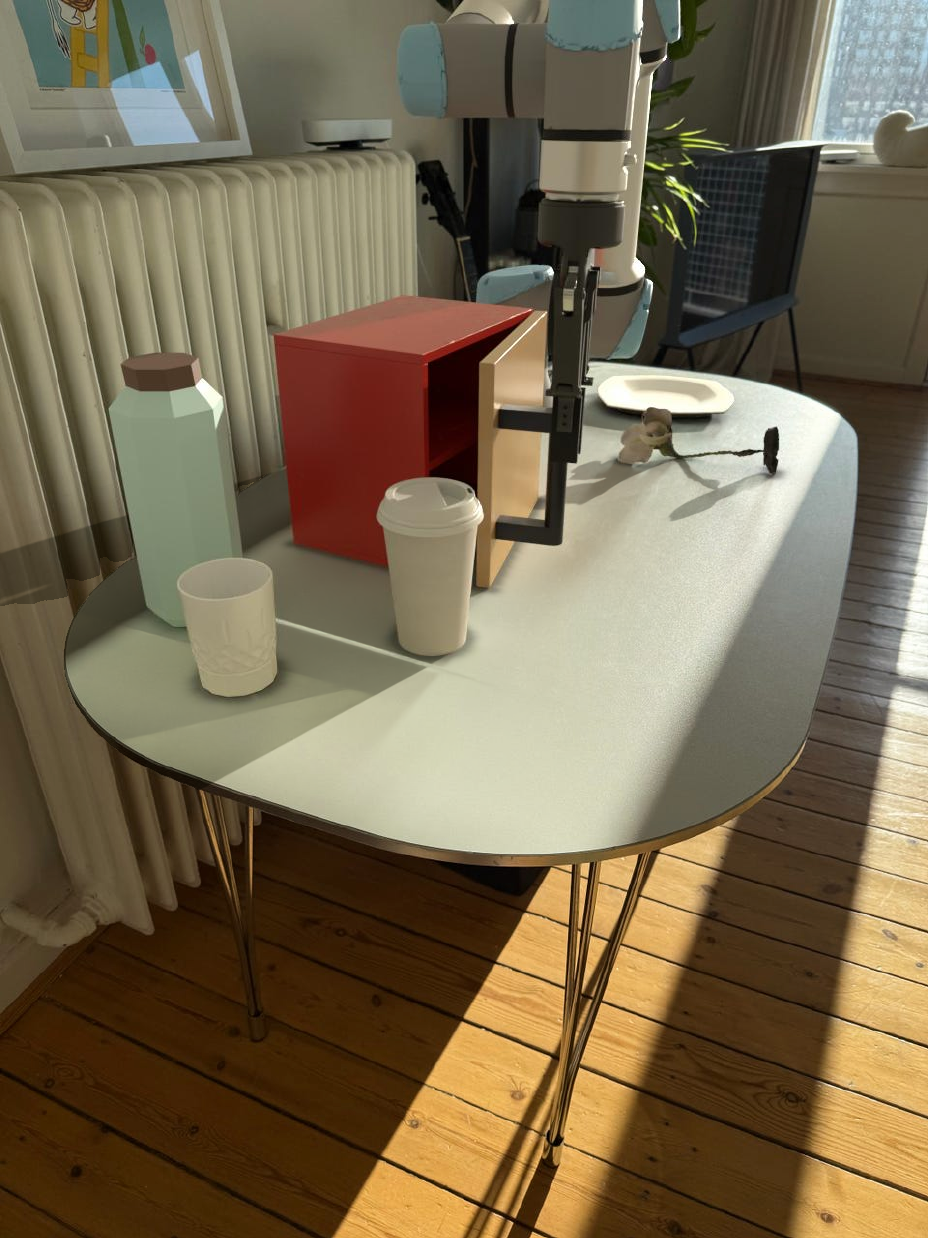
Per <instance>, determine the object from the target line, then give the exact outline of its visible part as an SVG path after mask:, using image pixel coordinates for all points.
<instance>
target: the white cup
mask: <svg viewBox="0 0 928 1238" xmlns="http://www.w3.org/2000/svg"><path fill="white" fill-rule="evenodd" d="M177 587H178V592H179V596H180V600H181V605H182V609H183V614H184V618H185V622H186V626H187V627H186V631H187V634H188V635H187V636H188V639H189V640H188V641H189V644H190V647H191V650H192V655H193V659H194V660H195V662H196V666H197V669H198V673H199V678H200V682H201V686H202V688H203V689H205V690H206V691H208V692H209V693H210V694H212V695H217V696H222V697H227V698H232V697H233V698H234V697H242V696H243V697H244V696H245V697H246V696H248V695H251V694H255V693H257V692H261V691H263V690H264V689H265V688H266V687H268V686H269V685H271V684H272V683H273V682H274V680H275V678H276V676H277V674H278V662H277V651H276V649H277V631H276V629H277V622H276V621H277V620H276V604H275V590H274V589H275V588H274V574H273V571H272V568H270V566H268V564H266V563H264V562H262V561H260V560H256V559H252V558H246V557H245V558H244V557H243V558H223V559H216V560H211V561H207V562H204V563H201V564H198V565H196V566H193V567H191V568H190V569H188V570H186V571H185V572H184V573H183V574H182V575H181V576H180V577H179V579H178V581H177Z"/></svg>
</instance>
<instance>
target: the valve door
mask: <svg viewBox="0 0 928 1238" xmlns="http://www.w3.org/2000/svg"><path fill="white" fill-rule="evenodd" d="M546 326H547V311H534V312H533V313H532V314H531V315H530V316H529V317H528V318H527V319H526V320H525V321H524V322H522V323H521V324H520V325H519V326H518V327H517V328H516V329H515V330H514V331H513V332H512V333H511V334H510V335H509V336H508V337H506V338H505V339H504V340H503V341H502V342H501V343H500V344H499V345H498V346H497V347H496V348H495V349H494V350H493V351H492V352H490V353H489V354H488V355H487V356H486V357H485V358H484V359H483V360H482V361H481V362H480V363H479V419H478V494H477V499H478V501H479V502H480V505H481V507H482V511H483V514H484V517H483V520H482V522H481V523H480V524H479V525H478V527H477V537H476V571H475V573H476V578H475V579H476V581H475V582H476V583H475V586H476V587H478V588H485V589H486V588H487V589H490V588H491V587H492V585H493V582H494V581H495V579H496V577H497V575H498V573H499V571H500V570H501V568H502V566H503V565H504V563H505V560H506V559H507V557H508V556H509V553H510V551H511V549H512V548H513V546H514V544H515V542H517V543H524V544H532V545H533V544H534V545H541V546H550V547H557V546H561V545H562V544H563V540H564V539H563V538H564V525H565V511H566V509H565V508H566V497H567V496H566V495H567V494H566V493H567V482H568V481H567V479H568V464H569V463H563V462H551V461H549V457H550V440H551V423H552V408H550V407H543V388H544V367H545V347H546ZM542 433H543V434H548V447H547V465H546V466H547V467H546V483H545V484H546V486H545V503H544V505H545V506H544V519H540V518H533V517H532V518H531V517H530V515H531V513H532V511H533V509H534V507H535V506H536V504H537V502H538V500H539V490H540V489H539V487H540V467H541V466H540V465H541V447H542Z"/></svg>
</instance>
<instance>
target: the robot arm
mask: <svg viewBox="0 0 928 1238" xmlns="http://www.w3.org/2000/svg"><path fill="white" fill-rule="evenodd" d="M680 37H681V0H462V1H461V3H460V4H459V5H458V7H456V9H454V11H453V13H452V14H451V15H450V16H449V17H448V18H447V20H446V21H445V22H444V23H435V21H429V22H427V23H419V24H411V25H408V26H406V27H405V28H404V29H403V31H402V32H401V34H400V37H399V41H398V45H397V53H396V55H397V56H396V74H397V75H396V76H397V86H398V92H399V97H400V101H401V104H402V107H403V108H404V110H405V111H406V112H407V113H408V114H409V115H411V116H414V117H425V118H436V119H437V120H444V119H478V118H479V119H487V118H488V119H495V118H497V119H502V118H504V119H506V118H508V119H543V129H542V139H541V140H540V141H541V143H540V144H541V145H540V163H539V164H540V165H539V181H538V183H539V184H538V187H539V190H540V191H541V192H542V193H545V197H544V198H542V199H541V201H540V202H539V203H538V218H537V219H538V221H537V241H538V242H539V243H540V244H541V245H543V246H545V247H549V248H560V249H562V256H561V264H558V265H557V268H554V269H553V268H552V266H550V265H548V264H547V265H546V264H541V265H539V264H530V265H529V264H528V265H519V266H510V267H505V268H501V269H496V270H493V271H489V272H486V273H485V274H483V275H482V276H481V277H480V278H479V280H478V281H477V286H476V296H475V297H476V298H475V303H484V304H493V305H503V306H512V307H522V308H531V309H533V312H534V311H547V326H546V347H545V367H544V388H543V407H550V408H552V423H551V440H550V457H549V461H551V462H563V463H568V464H574V465H578V461H579V455H580V454H581V452H582V441H583V429H584V417H585V402H586V389H587V388H586V386H587V387H593V385H594V377H593V376H590V377H589V376H587V375H588V374H589V371H590V364H589V362H590V361H591V360H592V359H605V360H607V361H608V360H611V359H630V358H632V357H634V356H635V355H636V354H637V353H638V352H639V349H640V347H641V344H642V341H643V337H644V334H645V330H646V325H647V320H648V316H649V311H650V310H649V309H650V306H651V301H652V296H653V290H654V289H653V288H654V286H653V285H654V283H653V282H652V280H650V279H648V278H645V272H646V271H645V270H646V269H645V266H644V265H643V264H642V263H641V261H640V260H638V258H637V247H638V244H637V243H638V233H639V224H640V223H639V222H640V213H641V200H642V190H643V179H644V169H645V168H644V167H645V159H646V148H647V147H646V146H647V136H648V125H649V116H650V115H649V114H650V103H651V91H652V83H653V74H654V73H655V70H657V69H658V68H659V66H661V65H662V64H663V62H664V61H665V60H666V58H667V51H668V44H673V43H674V42H677V41H679V40H680ZM549 356H552V360H551V361H552V365H551V373H550V374H549V372H548V367H549V366H548V365H549ZM583 386H585V387H583Z"/></svg>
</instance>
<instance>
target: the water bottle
mask: <svg viewBox="0 0 928 1238" xmlns="http://www.w3.org/2000/svg"><path fill="white" fill-rule="evenodd" d="M120 368H121V373H122V378H123V382H124V385H125V386H124V387H123V389H122V390H121V391H120V392H119V393H118V395H117V396H116V398H115V399H114V400H113V402H112V403H111V404H110V406H109V407H108V414H109V419H110V424H111V429H112V430H111V431H112V435H113V440H114V441H113V442H114V446H115V451H116V457H117V460H118V465H119V466H118V467H119V471H120V476H121V480H122V481H121V482H122V487H123V491H124V497H125V502H126V507H127V513H128V518H129V523H130V528H131V534H132V539H133V543H134V550H135V554H136V559H137V565H138V570H139V575H140V580H141V586H142V589H143V596H144V602H145V605H146V607H147V609H149V611H151V612H152V613H154V615H155V616H157V617H158V618H159V619H161V620H163V621H164V622H165V623H167V624H169V625H170V626H171V627H174V628H187V626H186V622H185V618H184V614H183V609H182V605H181V600H180V596H179V592H178V587H177V581H178V579H179V577H180V576H181V575H182V574H183V573H184V572H185V571H186V570H188V569H190V568H191V567H193V566H196V565H198V564H201V563H204V562H207V561H211V560H216V559H223V558H244V555H243V546H242V537H241V531H240V523H239V516H238V509H237V508H238V507H237V500H236V492H235V483H234V477H233V468H232V461H231V454H230V453H231V452H230V445H229V438H228V430H227V422H226V421H227V420H226V415H225V406H224V398H223V396H222V395H221V394H220V393H219V392H218V391H217V390H216V389H215V388H213V386H211V385H210V384H209V383H208V382H207V381H206V380H205V379H204V378H203V374H202V369H201V363H200V358H199V357H198V356H196V355H192V354H189V353H186V352H151V353H147V354H146V353H145V354H140V355H136V356H129V357H127V359H125V360H124V361H123V362H121V363H120Z"/></svg>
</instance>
